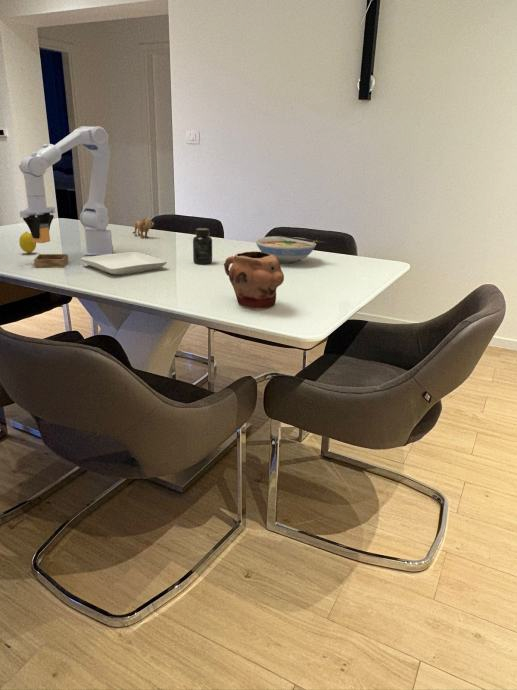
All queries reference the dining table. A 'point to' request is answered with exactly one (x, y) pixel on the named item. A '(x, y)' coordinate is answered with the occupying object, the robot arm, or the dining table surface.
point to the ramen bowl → (287, 247)
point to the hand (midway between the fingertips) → (40, 237)
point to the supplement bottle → (202, 247)
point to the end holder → (51, 260)
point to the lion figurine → (143, 227)
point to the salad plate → (124, 263)
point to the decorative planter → (254, 278)
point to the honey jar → (42, 234)
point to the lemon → (27, 243)
